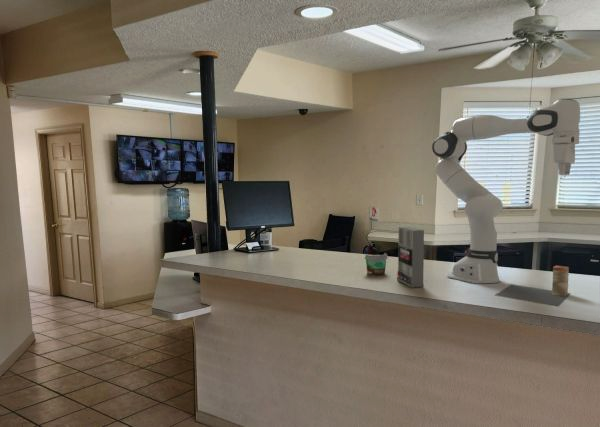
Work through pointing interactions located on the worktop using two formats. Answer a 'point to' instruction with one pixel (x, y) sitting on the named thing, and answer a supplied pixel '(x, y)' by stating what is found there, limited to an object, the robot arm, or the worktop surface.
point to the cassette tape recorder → (410, 256)
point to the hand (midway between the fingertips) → (564, 174)
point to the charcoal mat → (532, 295)
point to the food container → (376, 264)
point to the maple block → (560, 280)
